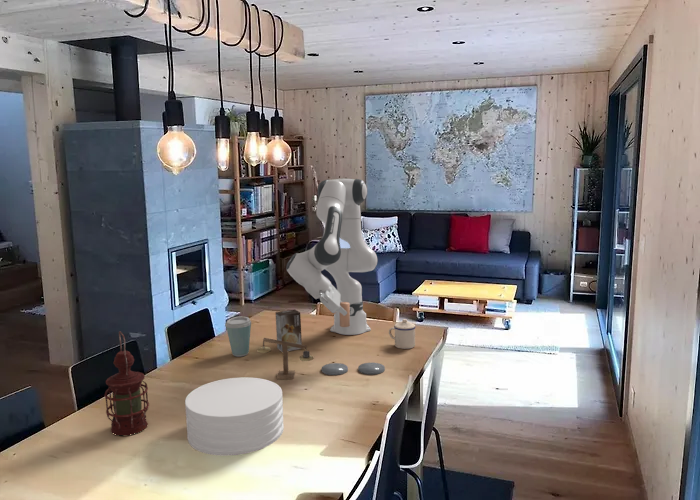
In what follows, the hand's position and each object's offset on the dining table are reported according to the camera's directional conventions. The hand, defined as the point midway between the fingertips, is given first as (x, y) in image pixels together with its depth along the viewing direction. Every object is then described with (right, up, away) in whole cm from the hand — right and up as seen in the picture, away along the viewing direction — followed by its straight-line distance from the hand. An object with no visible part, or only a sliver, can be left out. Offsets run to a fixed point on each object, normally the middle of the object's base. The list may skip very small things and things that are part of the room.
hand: (346, 312), depth 221 cm
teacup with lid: (+24, -17, +23) cm, 37 cm away
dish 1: (-4, -22, -5) cm, 23 cm away
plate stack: (-32, -30, -52) cm, 68 cm away
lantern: (-65, -30, -49) cm, 87 cm away
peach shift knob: (-1, -5, +1) cm, 5 cm away
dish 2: (+10, -21, -5) cm, 24 cm away
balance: (-22, -23, -10) cm, 33 cm away
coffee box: (-24, -18, +21) cm, 37 cm away
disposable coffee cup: (-44, -19, +15) cm, 51 cm away
